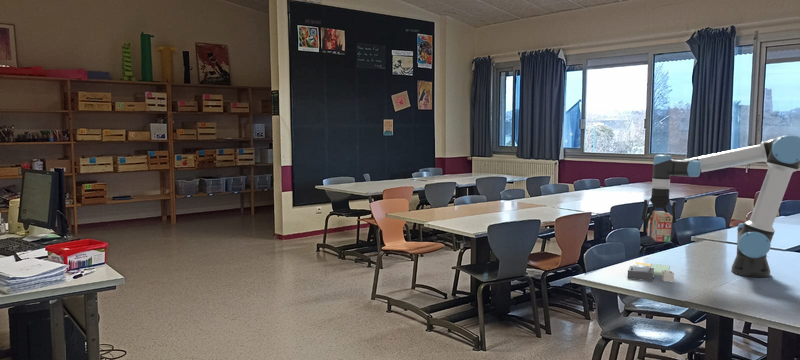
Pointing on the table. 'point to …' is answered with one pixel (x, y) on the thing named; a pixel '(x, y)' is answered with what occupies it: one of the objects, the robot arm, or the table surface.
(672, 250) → the table surface
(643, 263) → the pad
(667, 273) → the die
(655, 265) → the square one pad
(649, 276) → the box
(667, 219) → the printed cardboard box
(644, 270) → the white rounded block
